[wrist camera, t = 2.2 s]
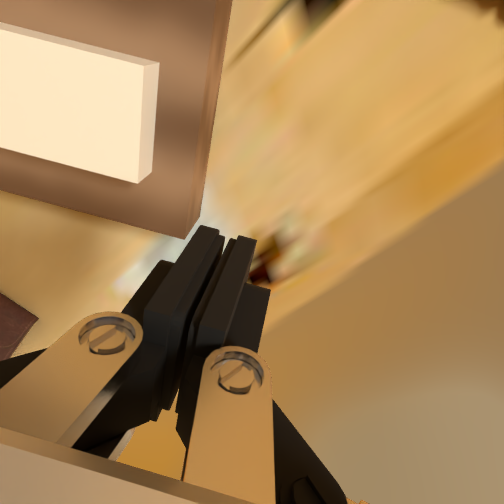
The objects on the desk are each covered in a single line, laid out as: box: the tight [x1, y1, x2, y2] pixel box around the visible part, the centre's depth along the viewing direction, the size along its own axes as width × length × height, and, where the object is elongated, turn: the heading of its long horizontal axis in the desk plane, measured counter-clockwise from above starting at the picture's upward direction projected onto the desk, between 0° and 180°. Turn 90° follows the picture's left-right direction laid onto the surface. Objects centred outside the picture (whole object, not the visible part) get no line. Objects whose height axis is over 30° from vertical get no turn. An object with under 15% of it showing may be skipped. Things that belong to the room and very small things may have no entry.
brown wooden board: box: [0, 0, 232, 240], centre depth 23 cm, size 14×20×4 cm
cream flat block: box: [0, 22, 159, 184], centre depth 20 cm, size 6×9×2 cm, turn 78°
